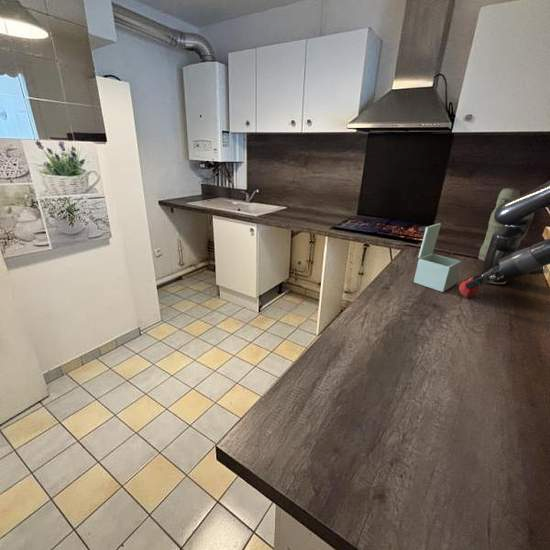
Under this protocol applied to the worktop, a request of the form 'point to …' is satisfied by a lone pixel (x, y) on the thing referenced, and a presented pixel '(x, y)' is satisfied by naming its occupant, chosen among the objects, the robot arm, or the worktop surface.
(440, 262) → the light blue lidded box
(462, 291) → the onion
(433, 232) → the lid
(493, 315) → the worktop surface
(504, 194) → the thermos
